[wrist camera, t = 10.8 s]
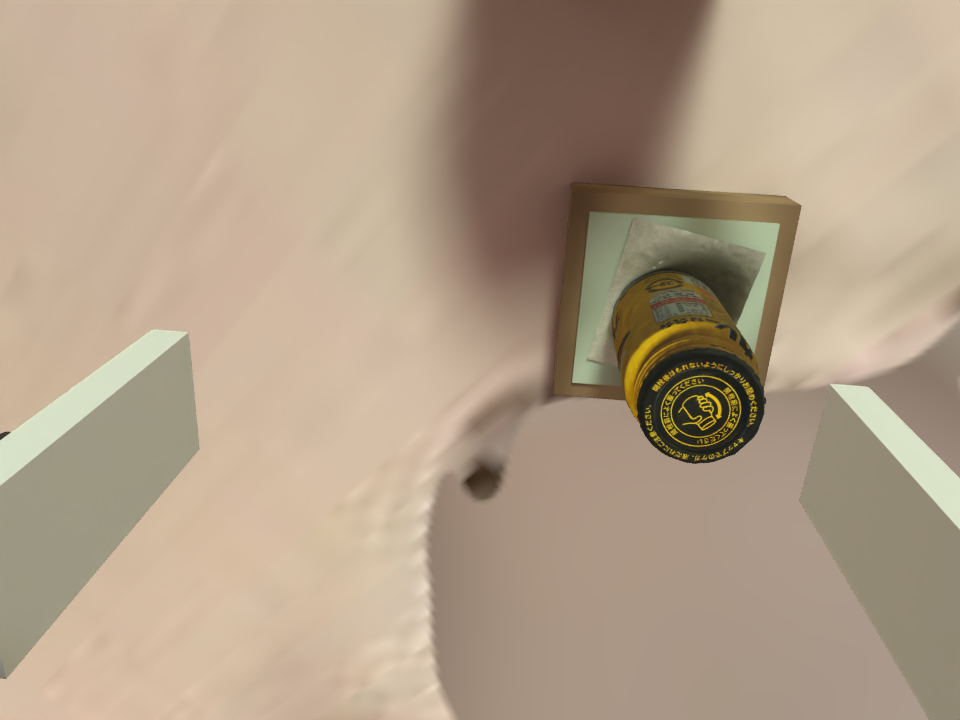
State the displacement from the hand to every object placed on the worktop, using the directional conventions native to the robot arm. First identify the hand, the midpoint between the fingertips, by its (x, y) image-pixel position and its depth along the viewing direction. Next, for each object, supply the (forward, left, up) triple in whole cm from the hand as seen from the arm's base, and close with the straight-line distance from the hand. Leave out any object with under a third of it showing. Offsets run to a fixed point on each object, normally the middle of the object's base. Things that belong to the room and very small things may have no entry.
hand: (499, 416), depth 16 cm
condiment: (+8, -6, -27) cm, 29 cm away
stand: (+8, -6, -30) cm, 32 cm away
